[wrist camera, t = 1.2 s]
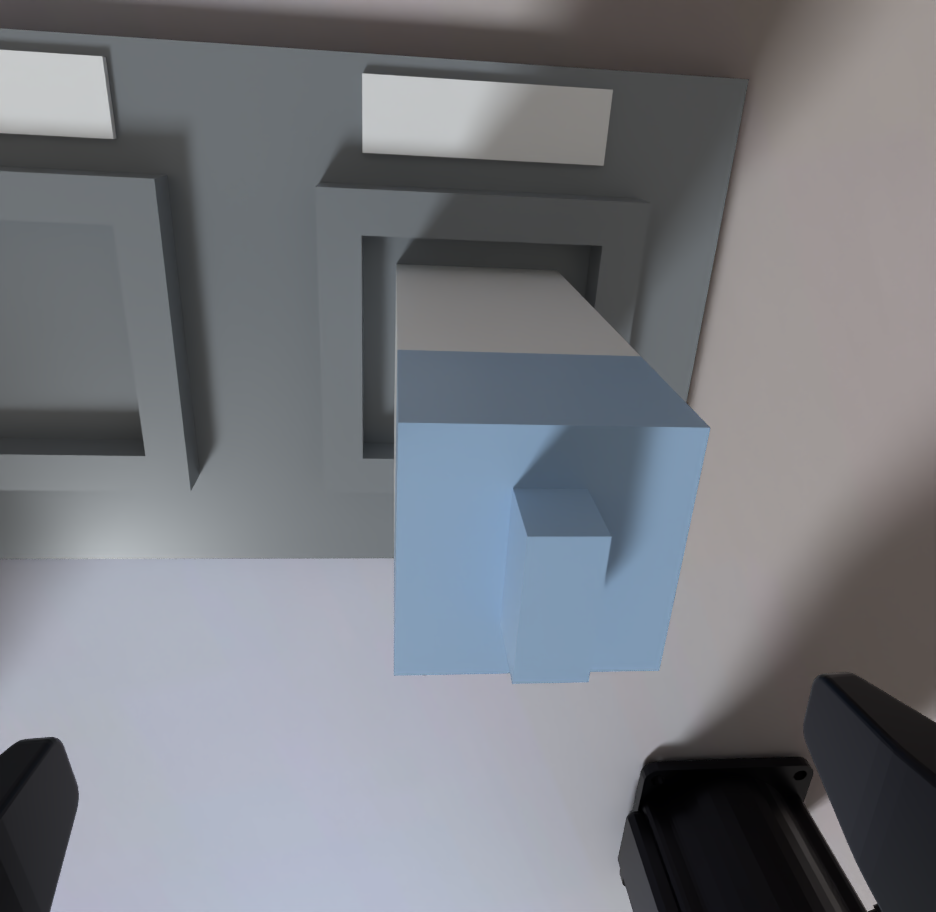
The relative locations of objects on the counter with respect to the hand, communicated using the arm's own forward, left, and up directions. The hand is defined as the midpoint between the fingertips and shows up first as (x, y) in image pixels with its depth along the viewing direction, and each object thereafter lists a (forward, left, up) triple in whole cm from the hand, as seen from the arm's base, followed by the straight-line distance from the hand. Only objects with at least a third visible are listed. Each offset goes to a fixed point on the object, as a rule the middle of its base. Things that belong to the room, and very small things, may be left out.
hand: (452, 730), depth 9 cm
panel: (+4, -1, -13) cm, 13 cm away
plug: (-1, -1, -12) cm, 12 cm away
